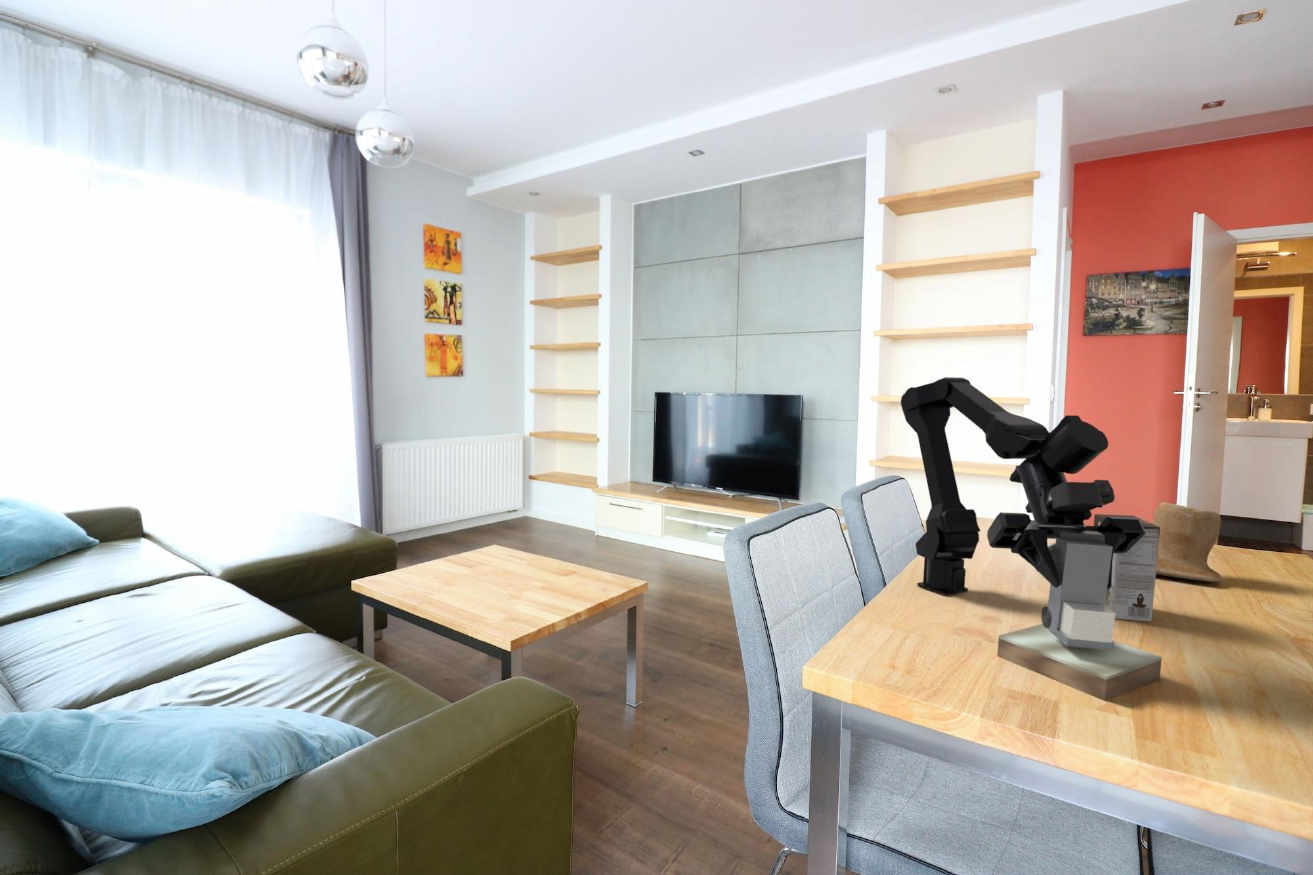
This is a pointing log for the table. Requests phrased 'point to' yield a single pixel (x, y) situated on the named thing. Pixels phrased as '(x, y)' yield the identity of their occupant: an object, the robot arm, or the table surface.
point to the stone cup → (1186, 541)
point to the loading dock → (1080, 662)
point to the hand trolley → (1080, 591)
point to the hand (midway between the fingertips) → (1082, 587)
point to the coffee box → (1134, 575)
